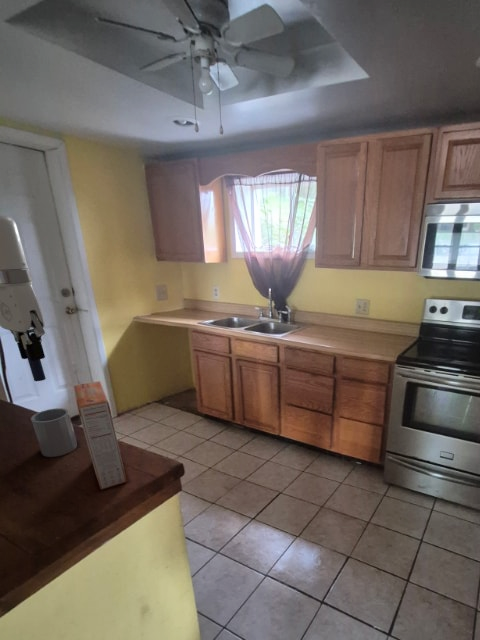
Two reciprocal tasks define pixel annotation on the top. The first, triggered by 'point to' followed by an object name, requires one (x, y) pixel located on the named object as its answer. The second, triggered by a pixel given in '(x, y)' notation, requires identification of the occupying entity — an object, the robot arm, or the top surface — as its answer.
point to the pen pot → (54, 432)
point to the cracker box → (100, 434)
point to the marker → (34, 364)
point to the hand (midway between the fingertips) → (33, 357)
